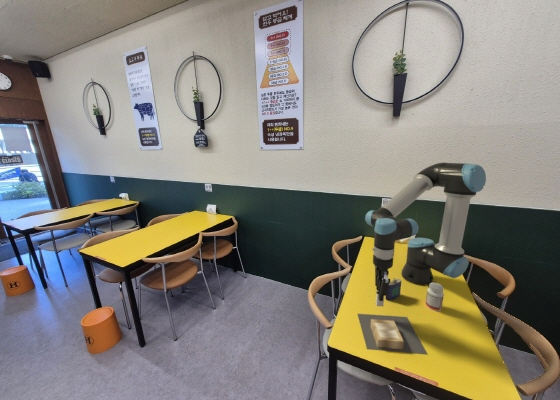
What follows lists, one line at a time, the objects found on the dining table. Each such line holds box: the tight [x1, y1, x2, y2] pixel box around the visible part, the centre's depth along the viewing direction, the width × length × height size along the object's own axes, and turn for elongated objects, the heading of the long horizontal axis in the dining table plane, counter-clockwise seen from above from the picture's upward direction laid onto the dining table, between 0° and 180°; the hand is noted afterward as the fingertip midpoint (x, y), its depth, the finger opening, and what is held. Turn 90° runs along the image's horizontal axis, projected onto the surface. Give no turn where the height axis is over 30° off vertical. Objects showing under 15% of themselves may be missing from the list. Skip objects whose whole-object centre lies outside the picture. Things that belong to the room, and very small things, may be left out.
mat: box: [357, 313, 428, 355], centre depth 89 cm, size 21×18×1 cm
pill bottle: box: [425, 282, 445, 312], centre depth 101 cm, size 6×6×11 cm
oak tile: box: [371, 319, 404, 349], centre depth 87 cm, size 9×4×10 cm
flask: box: [384, 277, 402, 302], centre depth 108 cm, size 9×3×11 cm, turn 114°
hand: (379, 304), depth 96 cm, fingers closed
